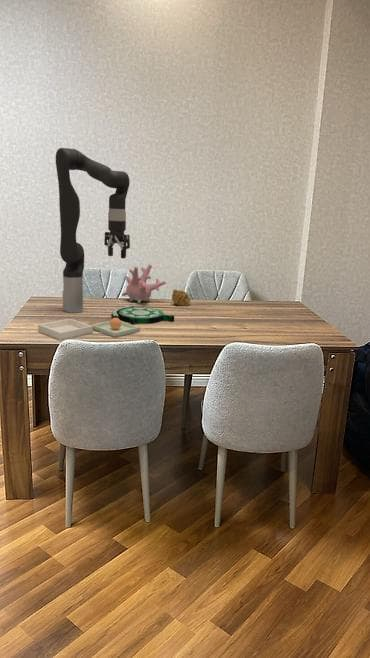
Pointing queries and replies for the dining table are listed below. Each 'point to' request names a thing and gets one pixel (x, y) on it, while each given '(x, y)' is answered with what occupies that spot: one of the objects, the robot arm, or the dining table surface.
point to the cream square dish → (65, 329)
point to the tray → (122, 331)
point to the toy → (140, 285)
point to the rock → (180, 298)
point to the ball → (115, 323)
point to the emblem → (140, 315)
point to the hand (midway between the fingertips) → (116, 257)
